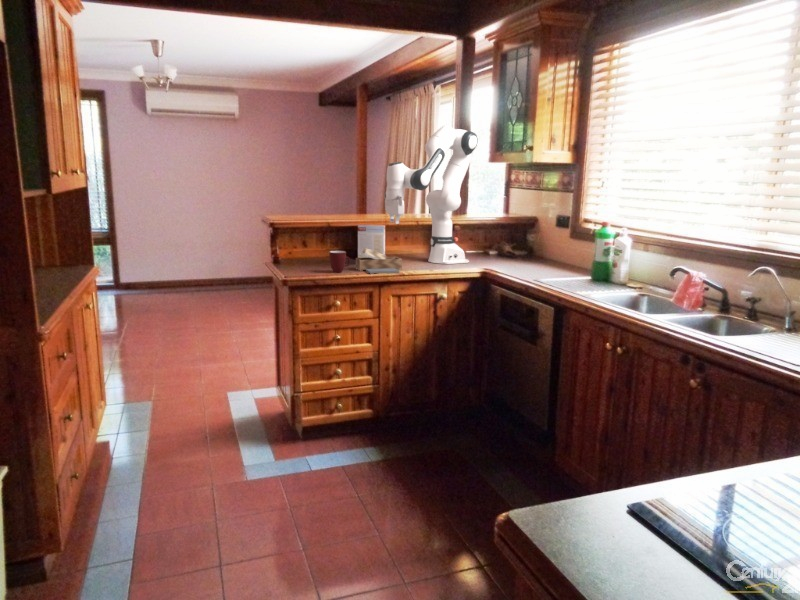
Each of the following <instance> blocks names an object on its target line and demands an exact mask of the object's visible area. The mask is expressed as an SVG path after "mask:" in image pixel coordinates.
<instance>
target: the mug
mask: <svg viewBox="0 0 800 600" xmlns="http://www.w3.org/2000/svg"><path fill="white" fill-rule="evenodd" d="M328 257H329V262H330V267H331V270H332V272H333V273H335V274H341V273H343V271H344V269H345V267H348V266H350V264H351V259H350V257H349V256H347V252H346V251H345V250H330V251H329V256H328ZM346 260H347V264H346Z"/></svg>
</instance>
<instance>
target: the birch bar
mask: <svg viewBox="0 0 800 600" xmlns="http://www.w3.org/2000/svg"><path fill="white" fill-rule="evenodd" d="M363 253H365V254H368V255H371V256H373V257H376V258H379V259H385V258H386V257H387V255H386V254H385V255H383V254H381V253H378V252H375V251H372V250H369V249H367V248H364V250H363Z"/></svg>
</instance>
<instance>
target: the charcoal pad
mask: <svg viewBox="0 0 800 600" xmlns="http://www.w3.org/2000/svg"><path fill="white" fill-rule="evenodd" d="M365 272H366V273H367V272H368V273H367V274H369V273H370V274H369V275H374V274H373V273H387V274H400V270H397V269H395V268H385V269H366V271H365Z"/></svg>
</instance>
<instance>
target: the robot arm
mask: <svg viewBox="0 0 800 600" xmlns="http://www.w3.org/2000/svg"><path fill="white" fill-rule="evenodd" d="M478 143H479V142H478V136H477V134H476V133H475V132H473V131H471V130H466V129H461V128H459V129H458V128H453V127H452V126H450V125H447V124H446V125H443V126H440V128H438V129H437V130H436V131H435V132H434V133H433V134H432V135H431V136H430V137H429V139H427V141H426V143H425V145H424V150H425V153H426V156H428V157H429V159H428V160H427V162H426V163H425V164H424V165H423V167H421V168H418V169H412V168H409V167H408V166H406V165H405V164H404V162H402V161H394V162H391V163H389V164H388V165H387V169H386V188H385V189H386V191H385V193H384V194H383V197H384V199H385V200H384V208H385V213H387V214H389V222H390V223H392V224H393V223H394V224H395V225H400V220H401V216H405V201H404V199H405V189H411V190H418V191H424V190H426V189H427V188H428V187H429V186H430V184H431V181H432V179H433V176H434V175H435V173H436V171H437V170H438V169H439V168H440V165H441V164H442V162H443V161H444V158H445V157H446V155H445V154H447V152H448V151H449V150H453V151H452V154H451V157H450V159H449V160H448V162H447V165H446V167H445V170H444V172H443V174H442V180H443V181H442V182H443V183H442V188H441V189H435V190H432V191H430V192H428V194H427V195H426V197H425V201H426V205H427V206H428V208H429V212H430V216H431V217H430V218H431V223H432V224H431V237H430V252H429V257H428V261H427V262H429V263H432V264H433V263H434V264H442V265H453V264H467V263H470V260H469V259H467V258H466V254H465V251H464V249H463V248H461V247H460V246H459V245H458V244H457V243H456V242H458V241H459V238H458V237H456V236H455V237H454V236H453V220H452V219H451V217H450V213H449V212H454V211H457V210H458V209H460V206H461V205H462V198H461V193H460V192H461V188H462V184H463V182H464V179H465V177H466V174H467V172H468V169H469V166H470V163H471V161H472V160H471V159H472V154H473V152H474V151H475V149H477V145H478ZM394 216H395V217H394Z"/></svg>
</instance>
